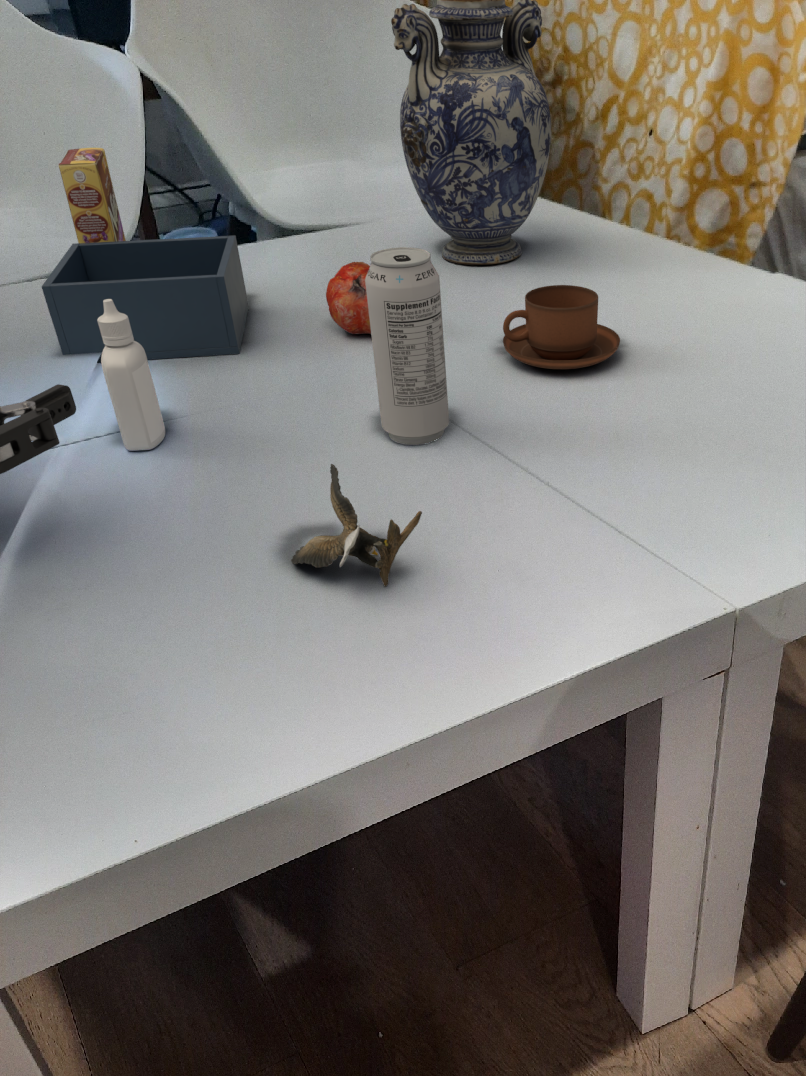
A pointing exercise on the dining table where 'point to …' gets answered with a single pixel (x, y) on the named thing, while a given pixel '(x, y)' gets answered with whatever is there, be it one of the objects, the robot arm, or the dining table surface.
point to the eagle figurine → (353, 538)
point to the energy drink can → (408, 344)
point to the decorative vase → (474, 122)
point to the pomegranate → (350, 298)
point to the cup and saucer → (560, 329)
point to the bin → (152, 295)
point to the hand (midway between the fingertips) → (24, 390)
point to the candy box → (91, 196)
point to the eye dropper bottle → (129, 382)
